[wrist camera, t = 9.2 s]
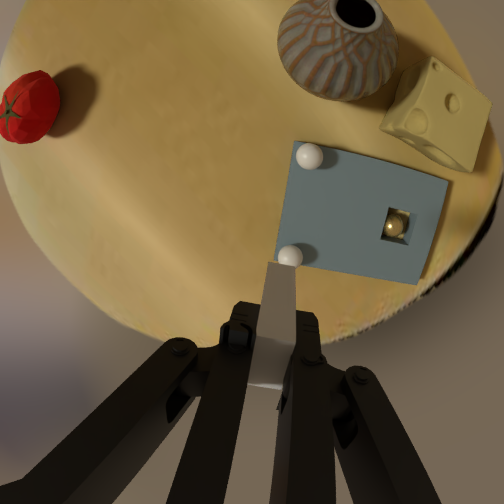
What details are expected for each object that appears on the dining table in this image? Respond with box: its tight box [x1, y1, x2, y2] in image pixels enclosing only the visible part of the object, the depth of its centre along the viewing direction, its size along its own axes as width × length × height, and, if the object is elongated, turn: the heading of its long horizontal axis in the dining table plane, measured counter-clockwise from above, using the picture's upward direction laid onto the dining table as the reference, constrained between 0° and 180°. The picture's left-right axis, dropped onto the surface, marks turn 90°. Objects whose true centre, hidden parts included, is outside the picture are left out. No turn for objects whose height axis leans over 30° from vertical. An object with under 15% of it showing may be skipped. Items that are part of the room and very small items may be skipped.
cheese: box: [379, 56, 492, 172], centre depth 27 cm, size 10×11×10 cm
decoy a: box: [296, 143, 323, 170], centre depth 33 cm, size 3×3×3 cm
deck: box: [274, 141, 448, 285], centre depth 37 cm, size 16×22×2 cm
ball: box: [383, 214, 404, 237], centre depth 37 cm, size 3×3×3 cm
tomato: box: [0, 70, 60, 144], centre depth 32 cm, size 13×12×11 cm
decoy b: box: [278, 245, 303, 269], centre depth 38 cm, size 3×3×3 cm
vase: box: [277, 0, 399, 101], centre depth 23 cm, size 13×13×18 cm
